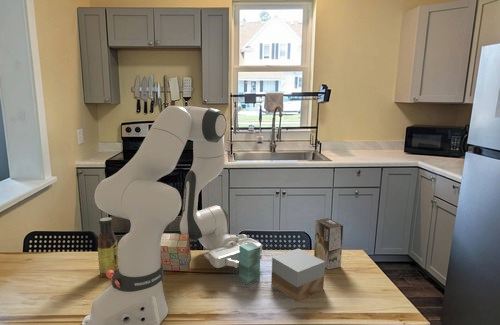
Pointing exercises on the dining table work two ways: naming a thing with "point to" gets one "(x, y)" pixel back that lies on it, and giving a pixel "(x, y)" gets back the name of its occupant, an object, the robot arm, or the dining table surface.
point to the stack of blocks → (175, 252)
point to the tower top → (298, 267)
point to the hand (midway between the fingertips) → (249, 261)
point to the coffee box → (328, 242)
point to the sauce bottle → (107, 247)
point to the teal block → (249, 263)
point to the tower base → (294, 291)
